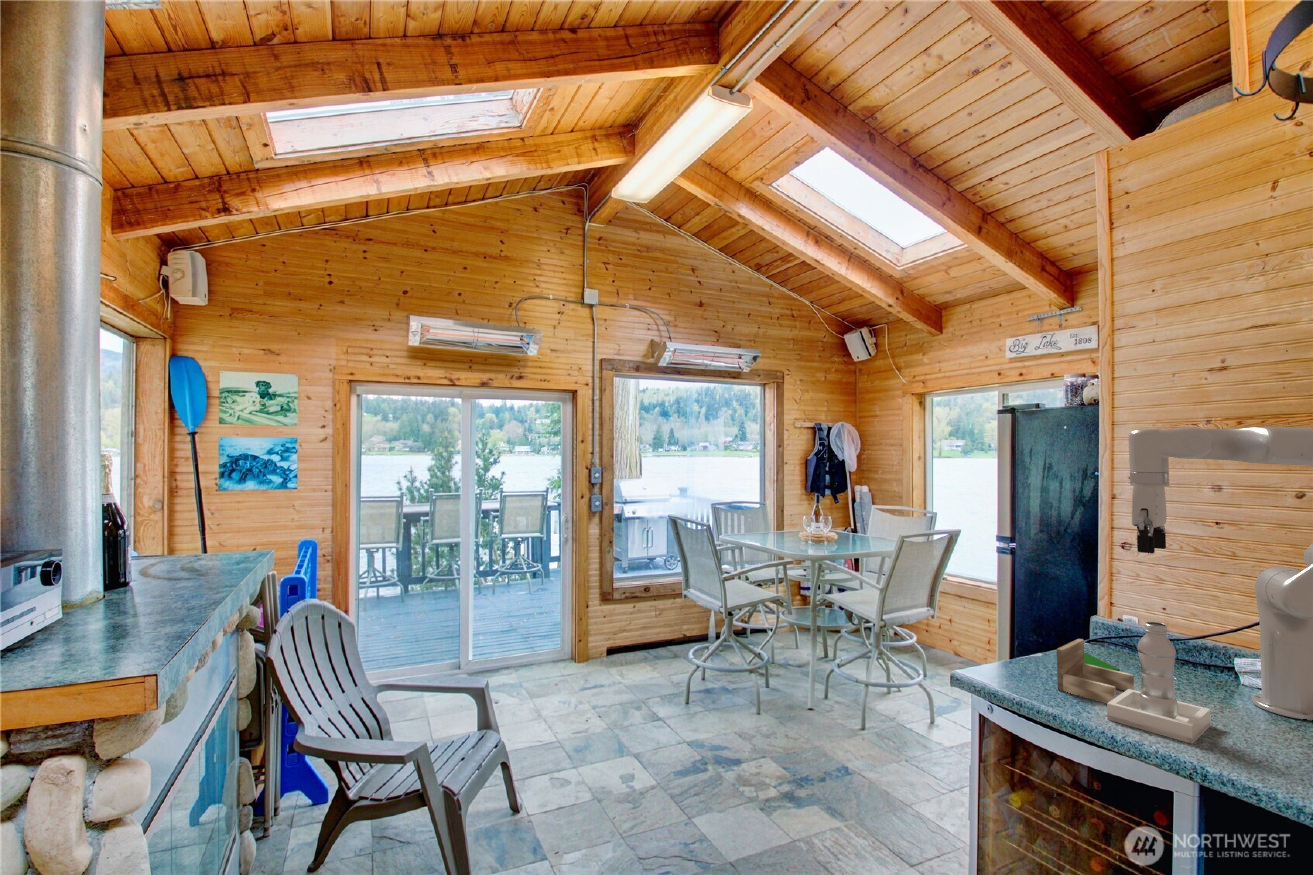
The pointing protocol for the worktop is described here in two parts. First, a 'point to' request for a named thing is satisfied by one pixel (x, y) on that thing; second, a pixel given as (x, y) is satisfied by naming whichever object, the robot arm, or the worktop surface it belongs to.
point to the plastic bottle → (1157, 671)
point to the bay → (1088, 675)
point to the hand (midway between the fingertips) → (1151, 550)
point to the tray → (1160, 718)
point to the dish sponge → (1098, 662)
